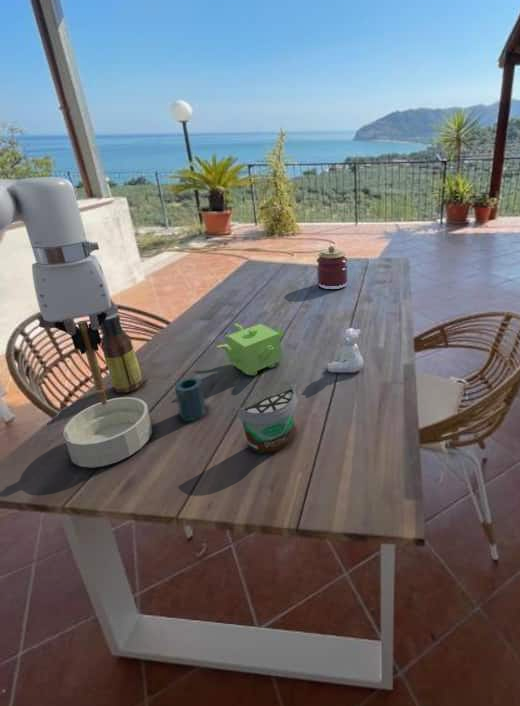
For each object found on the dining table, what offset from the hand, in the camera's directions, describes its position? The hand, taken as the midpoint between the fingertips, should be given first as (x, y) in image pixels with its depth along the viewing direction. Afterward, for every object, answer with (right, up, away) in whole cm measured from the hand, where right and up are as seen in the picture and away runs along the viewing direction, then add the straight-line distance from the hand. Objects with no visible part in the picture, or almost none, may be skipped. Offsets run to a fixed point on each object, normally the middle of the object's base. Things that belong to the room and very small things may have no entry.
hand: (89, 348), depth 72 cm
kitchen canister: (+38, +12, +97) cm, 105 cm away
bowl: (0, -20, +7) cm, 22 cm away
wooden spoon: (0, -11, +4) cm, 12 cm away
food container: (+33, -21, +7) cm, 40 cm away
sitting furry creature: (+47, -11, +34) cm, 59 cm away
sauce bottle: (-8, -14, +26) cm, 30 cm away
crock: (+12, -17, +16) cm, 27 cm away
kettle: (+21, -10, +36) cm, 42 cm away
